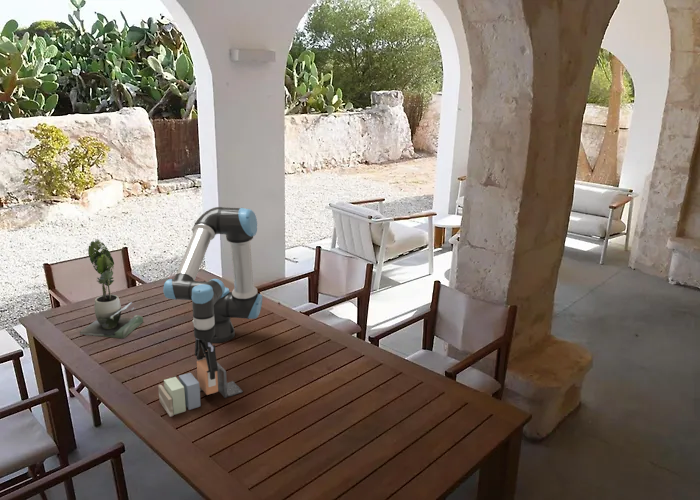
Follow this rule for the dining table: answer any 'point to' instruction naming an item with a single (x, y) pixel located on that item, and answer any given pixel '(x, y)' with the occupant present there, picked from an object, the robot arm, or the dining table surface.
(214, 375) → the robot arm
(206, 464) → the dining table surface
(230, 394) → the bookend
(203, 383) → the book rust
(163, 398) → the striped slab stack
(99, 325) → the potted plant
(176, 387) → the book sage
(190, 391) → the book slate
